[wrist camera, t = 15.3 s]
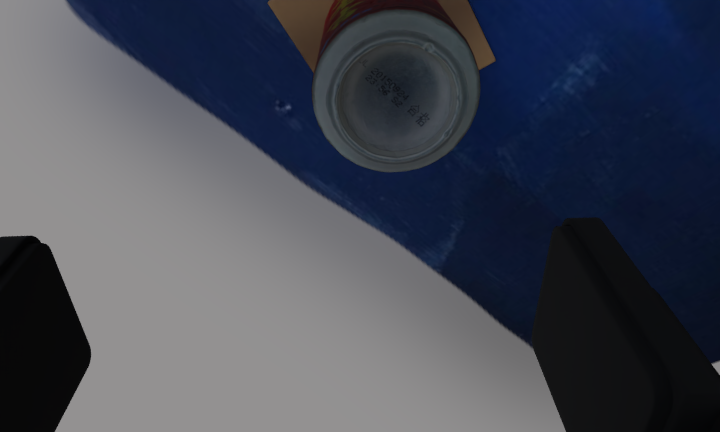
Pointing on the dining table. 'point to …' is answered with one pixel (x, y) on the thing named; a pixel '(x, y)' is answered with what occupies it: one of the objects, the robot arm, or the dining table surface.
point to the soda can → (394, 83)
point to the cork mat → (312, 3)
